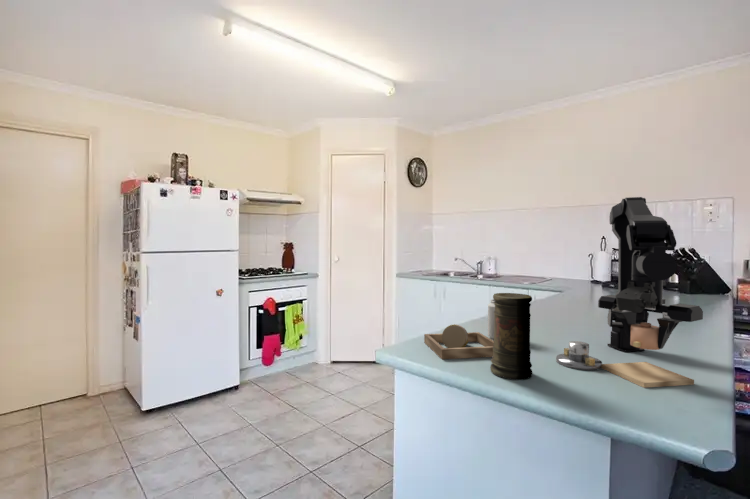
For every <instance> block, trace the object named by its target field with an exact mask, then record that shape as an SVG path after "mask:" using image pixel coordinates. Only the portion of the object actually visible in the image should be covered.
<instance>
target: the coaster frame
mask: <svg viewBox="0 0 750 499" xmlns="http://www.w3.org/2000/svg"><path fill="white" fill-rule="evenodd" d="M467 333H468V343H470V342H471V343H472V342H475V343H476V342H477V343H479V344H480V345H481V346H470V347H469V346H467V347H466V346H465V347H463V348H447V347H444V346H442V344H444V343H443V341H442V333H424V338H423V340H424V344H425V345H426V346H427V347H428V348H429V349H430V350H432V351H433V352H434V354H436V355H437V356H438V357H439V358H440V359H441V360H454V359H476V358H493V346H494V340H492V339H491V338H490V337H489V336H486V335H484V334H482V333H481V332H478V331H475V332H467Z"/></svg>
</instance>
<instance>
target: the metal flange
mask: <svg viewBox="0 0 750 499" xmlns="http://www.w3.org/2000/svg"><path fill="white" fill-rule="evenodd" d="M555 361H556V363H557V364H558V363H559V365H560V364H561V366H562V365H563V367H565V366H566V368H569V367H570V368H569V369H573V368H574V369H575V370H578V369H581V371H598V370H597V369H599V370H601V369H602V368H601V364H603V361H602V360H600V359H599V358H596V357H594V356H590V344H589V343H588V342H584V341H580V340H571V341H569V342H568V347H565V348H563V353H560V354H557V355H556V356H555ZM574 369H573V370H574Z"/></svg>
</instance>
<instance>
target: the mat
mask: <svg viewBox="0 0 750 499" xmlns="http://www.w3.org/2000/svg"><path fill="white" fill-rule="evenodd" d="M601 369H602V370H604V371H606V370H607V371H606V372H608V371H609V373H611V374H613V375H615V376H617V375H618V376H617V377H619V376H620V377H619V378H623V379H624V380H626V381H629V382H631V383H632V384H635V385H637V386H639V387H642V388H644V389H645V388H657V387H658V388H661V387H674V386H691V385H692V386H693V385H695V379H693V378H690V377H688V376H685V375H683V374H679V373H677V372H674V371H671V370H669V369H666V368H663V367H661V366H658V365H655V364H653V363H650V362H647V361H641V362H639V361H638V362H619V363H618V362H617V363H615V362H614V363H602V364H601Z"/></svg>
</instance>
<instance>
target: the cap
mask: <svg viewBox="0 0 750 499" xmlns="http://www.w3.org/2000/svg"><path fill="white" fill-rule="evenodd" d="M658 335H659V326H657V325H653V324H652V323H651V322H648V321H647V322H641V323H640V324H632V325H631V339H630V345H632V346H634V347H637V348H642V349H645V350H651V351H652V350H653V351H657V350H660V349H659V348H658Z"/></svg>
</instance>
